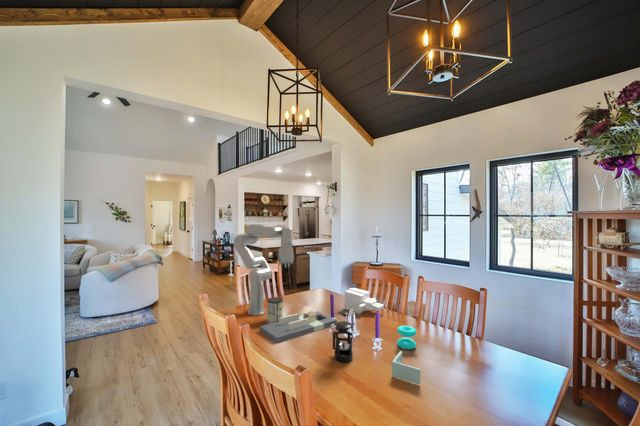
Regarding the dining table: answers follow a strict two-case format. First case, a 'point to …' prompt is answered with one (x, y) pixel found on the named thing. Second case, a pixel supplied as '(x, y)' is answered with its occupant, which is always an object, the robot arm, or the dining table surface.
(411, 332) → the donuts
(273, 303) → the coffee can
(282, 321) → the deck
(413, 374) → the l-shaped corner panel
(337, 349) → the french press
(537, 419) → the dining table surface
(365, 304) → the blocky voxel creature
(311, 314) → the birch block
